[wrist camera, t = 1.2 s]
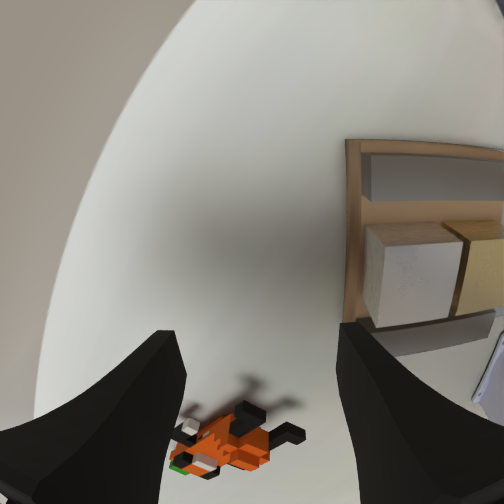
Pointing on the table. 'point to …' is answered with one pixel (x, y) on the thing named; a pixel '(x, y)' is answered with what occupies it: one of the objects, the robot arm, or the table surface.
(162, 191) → the table surface
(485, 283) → the tan wooden block
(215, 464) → the toy
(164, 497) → the table surface
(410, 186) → the slot block
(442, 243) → the grey block
